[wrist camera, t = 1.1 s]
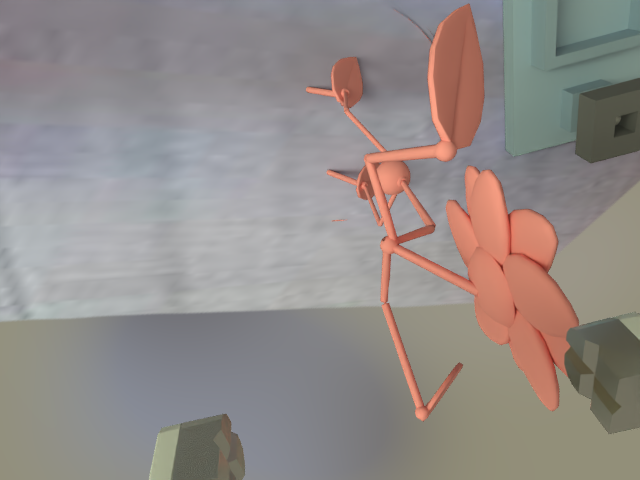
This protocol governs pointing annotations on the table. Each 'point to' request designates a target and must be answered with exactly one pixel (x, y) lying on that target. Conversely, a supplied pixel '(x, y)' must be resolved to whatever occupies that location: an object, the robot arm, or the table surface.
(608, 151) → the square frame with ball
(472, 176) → the figurine
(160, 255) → the table surface
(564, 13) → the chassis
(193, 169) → the table surface
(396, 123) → the table surface
